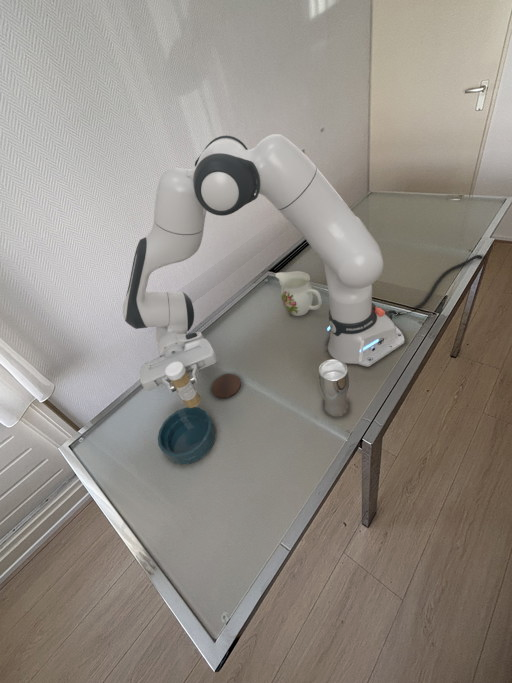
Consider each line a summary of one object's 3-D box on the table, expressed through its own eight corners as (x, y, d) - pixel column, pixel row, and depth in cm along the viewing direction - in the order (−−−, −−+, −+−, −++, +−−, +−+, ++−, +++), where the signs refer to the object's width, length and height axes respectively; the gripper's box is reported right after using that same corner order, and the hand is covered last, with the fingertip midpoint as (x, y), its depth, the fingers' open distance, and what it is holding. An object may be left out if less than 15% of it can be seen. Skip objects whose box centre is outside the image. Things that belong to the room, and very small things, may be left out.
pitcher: (314, 327, 108) (310, 294, 99) (273, 312, 119) (266, 281, 110) (331, 308, 113) (328, 275, 104) (290, 296, 124) (285, 265, 115)
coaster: (236, 371, 101) (235, 369, 101) (244, 391, 95) (244, 389, 94) (209, 382, 101) (209, 381, 100) (216, 403, 94) (215, 401, 93)
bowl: (209, 409, 93) (204, 399, 89) (222, 451, 82) (216, 441, 79) (162, 429, 91) (155, 419, 88) (169, 474, 80) (160, 465, 77)
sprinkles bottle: (185, 396, 86) (165, 363, 77) (201, 392, 86) (183, 358, 77) (184, 410, 83) (163, 377, 74) (201, 406, 82) (182, 372, 73)
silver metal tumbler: (350, 419, 81) (348, 381, 71) (322, 417, 83) (316, 381, 73) (349, 396, 85) (348, 358, 75) (323, 395, 87) (318, 358, 77)
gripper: (134, 358, 86) (137, 394, 75) (205, 329, 88) (217, 361, 77) (145, 373, 90) (148, 410, 80) (212, 345, 92) (225, 377, 82)
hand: (183, 385), depth 79 cm, fingers closed on sprinkles bottle, 4 cm apart
